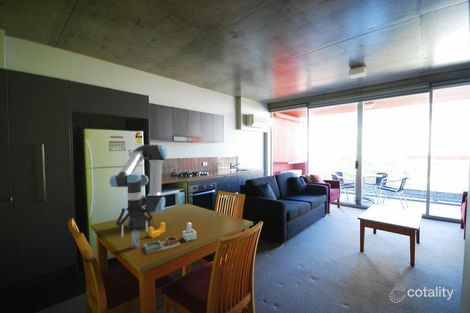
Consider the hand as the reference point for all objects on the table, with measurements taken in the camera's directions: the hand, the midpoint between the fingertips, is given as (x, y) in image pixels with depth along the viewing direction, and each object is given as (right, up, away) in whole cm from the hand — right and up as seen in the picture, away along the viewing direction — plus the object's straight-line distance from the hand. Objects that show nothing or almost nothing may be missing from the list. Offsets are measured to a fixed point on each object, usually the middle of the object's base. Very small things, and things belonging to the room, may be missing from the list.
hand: (135, 233), depth 127 cm
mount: (+16, -9, +1) cm, 18 cm away
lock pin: (+30, -8, +13) cm, 34 cm away
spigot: (0, -9, +1) cm, 9 cm away
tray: (+31, -8, +13) cm, 34 cm away
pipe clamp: (+6, -8, +21) cm, 23 cm away
